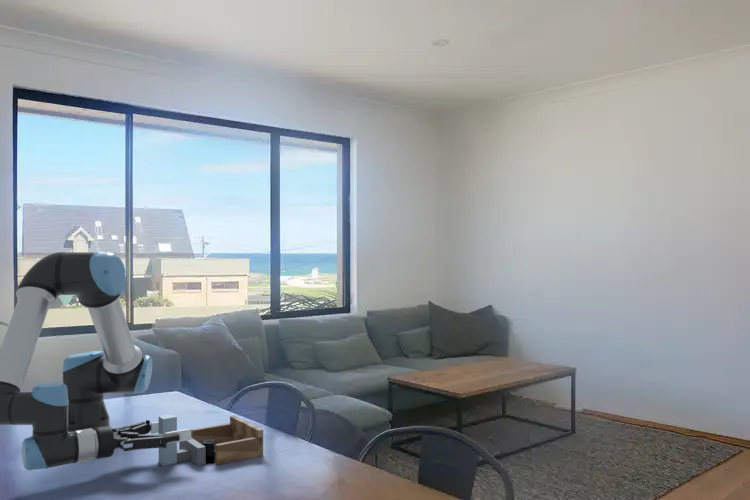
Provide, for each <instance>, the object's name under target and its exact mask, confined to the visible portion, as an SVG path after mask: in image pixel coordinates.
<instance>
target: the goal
mask: <svg viewBox="0 0 750 500" xmlns="http://www.w3.org/2000/svg"><path fill="white" fill-rule="evenodd" d="M190 429H191V438H193V439H194V440H196V441H197V442H199V443H200V444H202V443H203V440H210V439H215V464H214V465H216V466H219V465H226V464H229V463H234V462H239V461H243V460H244V461H245V460H249V459H254V458H258V457H263V456H264V429H263V428H261V427H259V426H257V425H254V424H252V423H250V422H249V421H246V420H245V419H243V418H240V417H239V416H237V415H231V416H229V422H228V423H222V424H217V425H211V426H204V427H198V428H190Z"/></svg>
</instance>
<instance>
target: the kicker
mask: <svg viewBox="0 0 750 500" xmlns="http://www.w3.org/2000/svg"><path fill="white" fill-rule="evenodd" d="M158 422H159V433H158V434H165V433H166V432H172V431H178V416H176V415H174V414H172V413H171V414H166V415H159V416H158ZM160 442H161V441H160ZM178 446H179V449H178ZM186 461H191V462H192V463H194V464H195V465H196V466H197V467H199V466H203V465H207V464H206V447H205V446H203V445H202V444H200V443H199V442H197V441H196V440H194V439H193V438H191V440H186V441H181V442H175V443H169V444H166V448H163V447H161V448H158V463H159V464H160V465H161V466H162V467H164V466H169V465H174V464H178V463H180V462H181V463H182V462H186Z"/></svg>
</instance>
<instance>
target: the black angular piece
mask: <svg viewBox="0 0 750 500" xmlns="http://www.w3.org/2000/svg"><path fill="white" fill-rule="evenodd" d="M202 445H203V446H205V447H206V464H205V465H216V464H215V439H210V440H203V443H202Z"/></svg>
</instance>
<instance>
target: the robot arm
mask: <svg viewBox="0 0 750 500" xmlns="http://www.w3.org/2000/svg"><path fill="white" fill-rule="evenodd" d="M126 273H127V272H126V268H125V264H124V263H123V261H122V258H120V256H118V255H117V254H116V253H113V252H104V251H93V252H90V251H89V252H87V251H86V252H85V251H81V252H80V251H79V252H75V251H72V252H70V251H69V252H66V251H59V252H54V253H50V254H48V255H46V256H44V257H42V258H41V259H40V260H38V261H37V262H36V263H34V264H33V265H32V267H30V268H29V269H28V271H27V272H26V273H25V274H24V276H23V277H22V279H21V281H20V282H19V284H18V287H17V290H16V292H15V297H16V298H17V302H16V305H15V308H14V309H13V312H12V316H11V318H10V321H9V324H8V326H7V329H6V332H5V334H4V337H3V339H2V342H1V344H0V426H32V436H29V437H26V438H24V439H23V441H22V447H21V455H22V464H23V467H24V468H25V470H27V471H36V470H43V469H44V470H47V469H51V468H55V467H60V466H65V465H70V464H76V463H80V464H82V465H83V464H85V462H87V461H92V460H94V459H97V460H99V459H105V458H111V457H112V456H113V455H114V453H115V449H122V450H123V452H129V451H135V450H136V451H137V450H146V449H147V450H148V449H159V448H161V447H163V448H166V444H169V443H175V442H177V443H179V442H181V441H186V440H191V429H192V428H186V429H180V430H179V429H177V431H172V432H166V433H165V434H159V421H155V422H154V421H153V422H151V420H150V419H146V420H145V421H141V422H137V423H132V424H129V425H125V426H122V427H116V428H112V426H110V415H109V412H108V410H107V406H106V403H105V401H104V394H130V395H131V394H133V395H134V394H141V393H142V394H143V393H145V392H146V391H147V390H148V388H149V386H150V383H151V379H152V375H153V357H152V356H151V355H147V354H145V355H143V352H142V350H141V349H140V347H139V346H137V345H136V344H134V341H133V337H132V334H131V332H130V331H131V330H130V329H129V326H128V322H127V319H126V317H125V313H124V311H123V310H124V309H123V307H122V303H121V299H120V297H121V295H122V293H123V292H124V290H125V288H126V285H127V284H126V283H127V276H126ZM59 296H76V298H77V300H78V302H79V304H80V305H81V306H82V307H85V308H87V309H88V313H89V315H90V318H91V321H92V323H93V327H94V329H95V331H96V335H97V337H98V340H99V342H100V346H101V348H102V350H93V351H86V352H80V353H75V354H71V355H68V356H66V357H65V358H64V359H63V362H62V363H63V365H62V371H61V372H62V382H60V381H53V382H42V383H38V384H35V385H34V386H33V388H32V391H30V392H28V391H23V392H22V391H21V390H22V386H23V385H24V381H25V378H26V376H27V373H28V369H29V367H30V364H31V360H32V357H33V355H34V352H35V348H36V347H37V346H36V345H37V343H38V340H39V337H40V334H41V332H42V329H43V326H44V323H45V321H46V317H47V314H48V311H49V308H50V307H52V306H54V305H55V304H56V300H57V298H58V297H59ZM160 441H161V442H160Z"/></svg>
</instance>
